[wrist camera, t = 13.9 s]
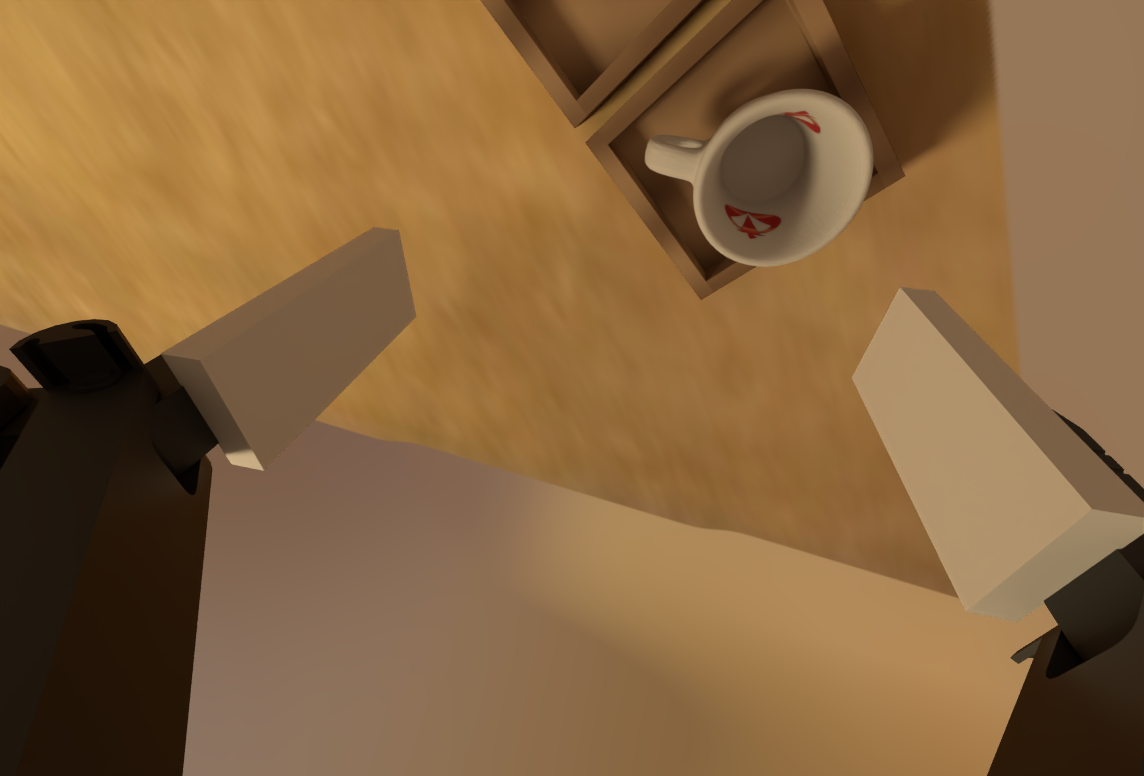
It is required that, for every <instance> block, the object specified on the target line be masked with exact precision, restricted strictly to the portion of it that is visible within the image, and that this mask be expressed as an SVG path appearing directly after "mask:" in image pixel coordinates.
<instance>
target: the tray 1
mask: <svg viewBox="0 0 1144 776" xmlns="http://www.w3.org/2000/svg"><path fill="white" fill-rule="evenodd" d="M704 1H705V0H481V2H482V3H483V4H484V6H485V7H486V8H487V10H488V11H489V12H490V14H491V15H492V17H493V18H494V19H495V21H496V22H497V23H498V25H499V26H500V27H501V29H502V30H503V31H504V33H505V34H506V36H507V37H508V38H509V40H510V41H511V42H512V44H513V45H514V46H515V48H516V49H517V51H518V52H519V53H520V55H521V56H522V57H523V59H524V60H525V61H526V63H527V64H528V65H529V67H530V68H531V70H532V71H533V72H534V74H535V75H536V76H537V78H538V79H539V80H540V82H541V83H542V84H543V86H544V87H545V89H546V90H547V91H548V93H549V94H550V95H551V97H552V98H553V99H554V101H555V102H556V104H557V105H558V106H559V108H560V109H561V110H562V112H563V113H564V114H565V116H566V117H567V118H568V120H569V121H570V123H571V124H572V125H573V127H574V128H576V127H578V126H579V125H581V124H582V123H583V122H584V121H585V120H586V119H587V118H588V117H589V116H590V115H591V114H592V113H593V112H594V111H595V110H596V109H597V108H598V107H599V106H600V105H601V104H602V103H603V102H604V101H605V100H606V99H607V98H608V97H609V96H610V95H611V94H612V93H613V92H614V91H615V90H616V89H617V88H618V87H619V86H620V85H621V84H622V83H623V82H624V81H625V80H626V79H627V78H628V77H629V76H630V75H631V74H632V73H633V72H634V71H635V70H636V69H637V68H638V67H639V66H640V65H641V64H642V63H643V62H644V61H645V60H646V59H647V58H648V57H649V56H650V55H651V54H652V53H653V52H654V51H655V50H656V49H657V48H658V47H659V46H660V45H661V44H662V43H663V42H664V41H665V40H666V39H667V38H668V37H669V36H670V35H671V34H672V33H673V32H674V31H675V30H676V29H677V28H678V27H679V26H680V25H681V24H682V23H683V22H684V21H685V20H686V19H687V18H688V17H689V16H690V15H691V14H692V13H693V12H694V11H695V10H696V9H697V8H698V7H699V6H700V5H701V4H702V3H703V2H704Z"/></svg>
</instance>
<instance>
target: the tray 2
mask: <svg viewBox="0 0 1144 776" xmlns="http://www.w3.org/2000/svg"><path fill="white" fill-rule="evenodd" d="M790 89H813V90H818V91H823V92H826V93H829V94H832V95H834V96H836V97H838V98H840V99H842V100H843V101H844V102H846V103H847V104H849V105H850V106H851V107H852V108H853V109H854V110H855V111H856V112H857V113H858V115H859V116H860V117H861V119H862V120H863V122H864V124H865V125H866V128H867V130H868V132H869V135H870V138H871V141H872V147H873V159H874V161H873V172H872V178H871V182H870V186H869V189H868V192H867V194H866V197H865V199H864V201H865V200H867V199H868V198H870V197H872V196H873V195H875V194H876V193H878V192H880V191H881V190H883V189H885V188H886V187H888V186H890V185H891V184H893V183H895V182H896V181H898V180H900V179H901V178H903V177H904V176H905V174H904V172H903V170H902V168H901V166H900V163H899V161H898V159H897V157H896V155H895V153H894V151H893V149H892V146H891V144H890V142H889V140H888V138H887V136H886V134H885V132H884V129H883V127H882V125H881V123H880V121H879V119H878V117H877V115H876V112H875V110H874V108H873V106H872V104H871V102H870V100H869V98H868V95H867V93H866V91H865V89H864V87H863V85H862V83H861V81H860V78H859V76H858V74H857V72H856V70H855V68H854V66H853V64H852V61H851V59H850V57H849V55H848V53H847V51H846V49H845V47H844V44H843V42H842V40H841V38H840V36H839V34H838V32H837V29H836V27H835V25H834V23H833V21H832V19H831V17H830V15H829V12H828V10H827V8H826V6H825V4H824V2H823V0H732V1H731V2H730V3H729V4H728V5H727V6H725V7H724V8H723V9H722V10H721V11H720V12H719V13H718V14H717V15H716V16H715V17H714V18H713V19H712V20H711V21H710V22H709V23H708V24H707V25H706V26H705V27H704V28H703V29H702V30H701V31H700V32H699V33H698V34H697V35H696V36H695V37H694V38H692V39H691V40H690V41H689V42H688V43H687V44H686V45H685V46H684V47H683V48H682V49H681V50H680V51H679V52H678V53H677V54H676V55H675V56H674V57H673V58H672V59H671V60H670V61H669V62H668V63H667V64H666V65H665V66H664V67H663V68H662V69H661V70H660V71H658V72H657V73H656V74H655V75H654V76H653V77H652V78H651V79H650V80H649V81H648V82H647V83H646V84H645V85H644V86H643V87H642V88H641V89H640V90H639V91H638V92H637V93H636V94H635V95H634V96H633V97H632V98H631V99H630V100H629V101H628V102H627V103H625V104H624V105H623V106H622V107H621V108H620V109H619V110H618V111H617V112H616V113H615V114H614V115H613V116H612V117H611V118H610V119H609V120H608V121H607V122H606V123H605V124H604V125H603V126H602V127H601V128H600V129H599V130H598V131H597V132H596V133H595V134H594V135H593V136H591V137H590V138H589V139H588V140H587V141H586V142H585V143H586V144H587V146H588V147H589V148H590V150H591V151H592V152H593V154H594V155H595V157H596V158H597V159H598V161H599V162H600V163H601V165H602V166H603V167H604V169H605V170H606V171H607V173H608V174H609V176H610V177H611V178H612V180H613V181H614V182H615V184H616V185H617V186H618V188H619V189H620V190H621V192H622V193H623V195H624V196H625V197H626V199H627V200H628V201H629V203H630V204H631V205H632V207H633V208H634V210H635V211H636V212H637V214H638V215H639V216H640V218H641V219H642V220H643V222H644V223H645V224H646V226H647V227H648V229H649V230H650V231H651V233H652V234H653V235H654V237H655V238H656V239H657V241H658V242H659V243H660V245H661V246H662V248H663V249H664V250H665V252H666V253H667V254H668V256H669V257H670V258H671V260H672V261H673V263H674V264H675V265H676V267H677V268H678V269H679V271H680V272H681V273H682V275H683V276H684V277H685V279H686V280H687V282H688V283H689V284H690V286H691V287H692V288H693V290H694V291H695V292H696V294H697V295H698V296H699V298H700V299H701V300H702V299H704V298H705V297H707V296H709V295H710V294H712V293H713V292H715V291H717V290H718V289H720V288H722V287H723V286H725V285H727V284H728V283H730V282H732V281H733V280H735V279H737V278H738V277H740V276H741V275H743V274H745V273H746V272H748V271H750V270H751V269H753V268H755V267H756V266H752V265H746V264H742V263H739V262H736V261H734V260H732V259H730V258H728V257H726V256H724V255H723V254H721V253H720V252H719V251H718V250H716V249H715V248H714V247H713V246H712V245H711V244H710V243H709V241H708V240H707V239H706V237H705V236H704V234H703V232H702V231H701V229H700V227H699V224H698V222H697V218H696V215H695V210H694V202H693V190H694V187H693V185H692V183H691V182H689V181H686V180H683V179H679V178H674V177H670V176H666V175H663V174H660V173H657V172H655V171H653V170H651V169H650V168H649V167H648V166H647V165H646V163H645V152H646V148H647V144H648V142H649V140H650V139H651V138H652V137H653V136H656V135H674V136H681V137H686V138H691V139H696V140H703V141H705V140H708V139H710V138H711V137H712V136H713V134H714V133H715V132H716V130H717V129H718V127H719V126H720V125H721V124H722V122H723V121H724V120H725V119H726V118H727V117H728V116H729V115H730V114H731V113H732V112H734V111H735V110H736V109H738V108H739V107H740V106H742V105H744V104H745V103H747V102H749V101H751V100H753V99H756V98H759V97H762V96H765V95H769V94H772V93H775V92H779V91H784V90H790Z"/></svg>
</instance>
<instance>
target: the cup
mask: <svg viewBox="0 0 1144 776" xmlns="http://www.w3.org/2000/svg"><path fill="white" fill-rule="evenodd" d="M873 161H874V159H873V147H872V141H871V138H870V135H869V132H868V130H867V128H866V125H865V124H864V122H863V120H862V119H861V117H860V116H859V115H858V113H857V112H856V111H855V110H854V109H853V108H852V107H851V106H850V105H849V104H847V103H846V102H844V101H843V100H842V99H840V98H838V97H836V96H834V95H832V94H829V93H826V92H823V91H818V90H813V89H790V90H784V91H779V92H775V93H772V94H769V95H765V96H762V97H759V98H756V99H753V100H751V101H749V102H747V103H745V104H744V105H742V106H740V107H739V108H738V109H736V110H735V111H734V112H732V113H731V114H730V115H729V116H728V117H727V118H726V119H725V120H724V121H723V122H722V124H721V125H720V126H719V127H718V129H717V130H716V132H715V133H714V134H713V136H712V137H711V138H710V139H708V140H705V141H703V140H696V139H691V138H686V137H681V136H674V135H656V136H653V137H652V138H651V139H650V140H649V142H648V144H647V148H646V152H645V163H646V165H647V166H648V167H649V168H650V169H651V170H653V171H655V172H657V173H660V174H663V175H666V176H670V177H674V178H679V179H683V180H686V181H689V182H691V183H692V185H693V187H694V190H693V202H694V210H695V215H696V218H697V222H698V224H699V227H700V229H701V231H702V232H703V234H704V236H705V237H706V239H707V240H708V241H709V243H710V244H711V245H712V246H713V247H714V248H715V249H716V250H718V251H719V252H720V253H721V254H723V255H724V256H726V257H728V258H730V259H732V260H734V261H736V262H739V263H742V264H746V265H752V266H762V267H769V266H779V265H784V264H788V263H792V262H795V261H798V260H801V259H803V258H805V257H808V256H810V255H812V254H813V253H815V252H817V251H819V250H820V249H822V248H823V247H825V246H826V245H828V244H829V243H830V242H831V241H832V240H834V239H835V238H836V237H837V236H838V235H839V234H840V233H841V232H842V231H843V230H844V229H845V228H846V227H847V226H848V224H849V223H850V222H851V221H852V219H853V218H854V216H855V215H856V213H857V212H858V210H859V209H860V207H861V205H862V203H863V201H864V199H865V197H866V194H867V192H868V189H869V186H870V182H871V178H872V172H873Z"/></svg>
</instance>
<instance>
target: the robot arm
mask: <svg viewBox="0 0 1144 776" xmlns="http://www.w3.org/2000/svg"><path fill="white" fill-rule="evenodd" d="M415 317H416V313H415V308H414V303H413V298H412V293H411V288H410V283H409V278H408V273H407V268H406V263H405V258H404V253H403V249H402V244H401V239H400V234H399V230H393V229H384V228H375V227H374V228H372V229H370V230H369V231H367V232H365V233H363V234H362V235H360V236H358V237H357V238H355V239H353V240H352V241H350V242H348V243H347V244H345V245H343V246H342V247H340V248H338V249H336V250H335V251H333V252H331V253H330V254H328V255H326V256H325V257H323V258H321V259H320V260H318V261H316V262H315V263H313V264H311V265H309V266H308V267H306V268H304V269H303V270H301V271H299V272H298V273H296V274H294V275H293V276H291V277H289V278H288V279H286V280H284V281H283V282H281V283H279V284H277V285H276V286H274V287H272V288H271V289H269V290H267V291H266V292H264V293H262V294H261V295H259V296H257V297H256V298H254V299H252V300H250V301H249V302H247V303H245V304H244V305H242V306H240V307H239V308H237V309H235V310H234V311H232V312H230V313H229V314H227V315H225V316H223V317H222V318H220V319H218V320H217V321H215V322H213V323H212V324H210V325H208V326H207V327H205V328H203V329H202V330H200V331H198V332H196V333H195V334H193V335H191V336H190V337H188V338H186V339H185V340H183V341H181V342H180V343H178V344H176V345H175V346H173V347H171V348H169V349H168V350H166V351H164V352H163V353H161V355H159V356H158V357H156V358H154V359H153V360H151V361H149V362H148V363H146V364H143V362H142V361H141V359H140V358H139V356H138V355H137V353H136V352H135V351H134V349H133V348H132V346H131V345H130V343H129V342H128V340H127V339H126V337H125V336H124V334H123V333H122V332H121V330H120V329H119V327H118V326H117V324H115V323H113V322H111V321H109V320H98V319H92V320H82V321H74V322H70V323H65V324H61V325H56V326H53V327H50V328H47V329H44V330H41V331H38V332H36V333H34V334H32V335H30V336H28V337H26V338H24V339H22V340H20V341H18V342H17V343H16V344H15V345H14V346H12V347H11V348H10V349H9V350H10V351H11V352H12V353H13V354H14V355H15V356H16V357H17V358H18V360H19V361H20V362H21V363H22V364H23V365H24V366H25V368H26V369H27V370H28V371H29V372H30V373H31V374H32V375H33V377H34V378H35V379H36V380H37V381H38V382H39V383H40V384H41V386H42V387H43V388H30V389H28V388H27V387H26V386H25V385H24V384H23V383H22V382H21V381H20V380H19V379H18V378H17V376H16V375H15V374H14V373H13V372H12V371H11V370H10V369H8V368H5V367H3V366H0V776H182V775H183V764H184V753H185V743H186V734H187V723H188V712H189V703H190V692H191V683H192V672H193V662H194V652H195V642H196V632H197V621H198V611H199V600H200V591H201V580H202V569H203V560H204V550H205V538H206V529H207V519H208V509H209V498H210V488H211V477H212V466H211V462H210V461H209V459H208V458H207V456H206V455H205V454H206V453H208V452H209V451H210V450H211V449H212V448H214V447H215V446H216V445H217V444H219V445H220V447H221V448H222V450H223V452H224V453H225V454H226V456H227V458H228V459H229V461H230V462H231V464H234V465H239V466H243V467H248V468H253V469H259V470H263V471H264V470H265V469H266V468H267V467H268V466H269V465H270V464H271V463H272V462H273V461H274V460H275V459H276V458H277V457H278V456H279V455H280V454H281V453H282V452H283V451H284V450H285V449H286V448H287V447H288V446H289V445H290V444H291V443H292V442H293V441H294V440H295V439H296V438H297V437H298V436H299V435H300V434H301V433H302V432H303V431H304V430H305V429H306V428H307V427H308V426H309V425H310V424H311V423H312V422H313V421H314V420H315V419H316V418H317V417H318V416H319V415H320V414H321V413H322V412H323V411H324V410H325V409H326V408H327V407H328V406H329V404H330V403H331V402H332V401H333V400H334V399H335V398H336V397H337V396H338V395H339V394H340V393H341V392H342V391H343V390H344V389H345V388H346V387H347V386H348V385H349V384H350V383H351V382H352V381H353V380H354V379H355V378H356V377H357V376H358V375H359V374H360V373H361V372H362V371H363V370H364V369H365V368H366V367H367V366H368V365H369V364H370V363H371V362H372V361H373V360H374V359H375V358H376V357H377V356H378V355H379V354H380V353H381V352H382V351H383V350H384V349H385V348H386V347H387V346H388V345H389V344H390V343H391V342H392V341H393V340H394V339H395V338H396V337H397V336H398V335H399V334H400V332H401V331H402V330H403V329H404V328H405V327H406V326H407V325H408V324H409V323H410V322H411V321H412V320H413V319H414V318H415ZM852 379H853V381H854V383H855V386H856V388H857V390H858V392H859V394H860V396H861V398H862V400H863V402H864V404H865V406H866V408H867V410H868V412H869V414H870V416H871V418H872V420H873V422H874V424H875V427H876V429H877V431H878V433H879V435H880V437H881V439H882V441H883V443H884V445H885V447H886V449H887V451H888V453H889V455H890V457H891V459H892V461H893V463H894V465H895V468H896V470H897V472H898V474H899V476H900V478H901V480H902V482H903V484H904V486H905V488H906V490H907V492H908V494H909V496H910V498H911V500H912V502H913V504H914V506H915V508H916V511H917V513H918V515H919V517H920V519H921V521H922V523H923V525H924V527H925V529H926V531H927V533H928V535H929V537H930V539H931V541H932V543H933V545H934V547H935V549H936V552H937V554H938V556H939V558H940V560H941V562H942V564H943V566H944V568H945V570H946V572H947V574H948V576H949V578H950V580H951V582H952V584H953V586H954V588H955V590H956V593H957V595H958V597H959V599H960V601H961V603H962V605H963V607H964V609H965V611H966V612H970V613H975V614H980V615H985V616H990V617H995V618H1000V619H1005V620H1010V621H1015V622H1018V621H1019V620H1021V619H1022V618H1024V617H1025V616H1027V615H1028V614H1030V613H1031V612H1032V611H1034V610H1035V609H1037V608H1038V607H1039V606H1041V605H1042V604H1044V603H1045V604H1046V606H1047V608H1048V609H1049V611H1050V612H1051V614H1052V615H1053V617H1054V619H1055V620H1056V622H1057V623H1058V626H1056V627H1055V628H1053V629H1051V630H1050V631H1048V632H1047V633H1045V634H1043V635H1042V636H1040V637H1039V638H1037V639H1036V640H1034V641H1032V642H1031V643H1029V644H1028V645H1026V646H1025V647H1023V648H1022V649H1020V650H1018V651H1017V652H1016V653H1015V654H1014V655H1013V656H1012V657H1011V659H1013V660H1014V661H1015V662H1017V663H1018V664H1019V663H1021V662H1022V661H1024V660H1025V659H1027V658H1034V659H1033V661H1032V664H1031V666H1030V669H1029V672H1028V674H1027V677H1026V679H1025V682H1024V684H1023V687H1022V689H1021V692H1020V694H1019V697H1018V699H1017V702H1016V704H1015V707H1014V709H1013V712H1012V714H1011V717H1010V719H1009V722H1008V724H1007V727H1006V729H1005V732H1004V734H1003V737H1002V739H1001V742H1000V744H999V747H998V749H997V752H996V754H995V757H994V759H993V762H992V764H991V767H990V770H989V772H988V775H987V776H1144V489H1143V488H1142V487H1141V486H1140V485H1139V484H1138V483H1137V482H1136V481H1135V480H1134V479H1133V478H1132V477H1131V476H1130V475H1129V474H1124V473H1123V471H1124V469H1123V468H1122V467H1121V466H1120V465H1119V464H1118V463H1117V462H1116V461H1115V460H1114V459H1113V458H1112V457H1111V456H1109V455H1105V450H1103V449H1102V447H1101V446H1100V445H1098V443H1096V441H1094V440H1093V439H1092V438H1091V437H1090V436H1089V435H1088V434H1087V433H1086V432H1085V431H1084V430H1083V429H1082V428H1080V427H1079V426H1077V425H1076V424H1074V423H1072V422H1071V421H1069V420H1068V419H1066V418H1065V417H1063V416H1062V415H1060V414H1058V413H1057V412H1056V411H1054V410H1052V409H1051V408H1050V407H1049V406H1048V405H1047V404H1046V403H1045V402H1044V401H1043V400H1042V399H1041V398H1040V397H1039V396H1038V395H1037V394H1036V393H1035V392H1034V391H1033V390H1032V389H1031V388H1030V387H1029V386H1028V385H1027V384H1026V383H1025V382H1024V381H1023V380H1022V379H1021V378H1020V377H1019V376H1018V375H1017V374H1016V373H1015V372H1014V371H1013V370H1012V369H1011V368H1010V367H1009V366H1008V365H1007V364H1006V363H1005V362H1004V361H1003V360H1002V359H1001V358H1000V357H999V356H998V355H997V354H996V353H995V352H994V351H993V350H992V349H991V348H990V347H989V346H988V345H987V344H986V343H985V342H984V341H983V340H982V339H981V338H980V337H979V335H978V334H977V333H976V332H975V331H974V330H973V329H972V328H971V327H970V326H969V325H968V324H967V323H966V322H965V321H964V320H963V319H962V318H961V317H960V316H959V315H958V314H957V313H956V312H955V311H954V310H953V309H952V308H951V307H950V306H949V305H948V304H947V303H946V302H945V301H944V300H943V299H942V298H941V297H940V296H939V295H938V294H937V293H936V292H935V291H930V290H921V289H912V288H903V287H900V288H899V290H898V292H897V294H896V296H895V298H894V300H893V302H892V303H891V305H890V307H889V309H888V311H887V313H886V315H885V317H884V318H883V320H882V322H881V324H880V326H879V328H878V330H877V332H876V333H875V335H874V337H873V339H872V341H871V343H870V345H869V347H868V348H867V350H866V352H865V354H864V356H863V358H862V360H861V362H860V363H859V365H858V367H857V369H856V371H855V373H854V375H853V377H852Z"/></svg>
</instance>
